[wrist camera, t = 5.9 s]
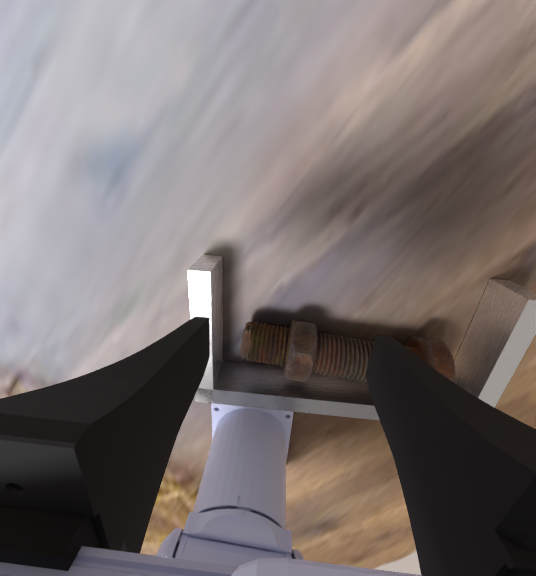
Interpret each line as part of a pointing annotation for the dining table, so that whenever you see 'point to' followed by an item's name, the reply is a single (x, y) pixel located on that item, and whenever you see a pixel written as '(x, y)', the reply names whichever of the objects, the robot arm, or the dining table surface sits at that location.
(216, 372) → the keeper
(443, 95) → the dining table surface
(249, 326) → the bolt
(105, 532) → the robot arm
